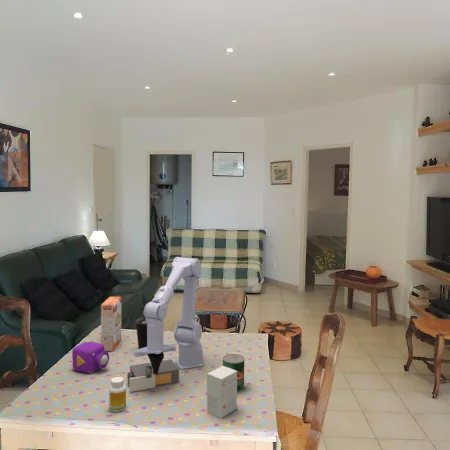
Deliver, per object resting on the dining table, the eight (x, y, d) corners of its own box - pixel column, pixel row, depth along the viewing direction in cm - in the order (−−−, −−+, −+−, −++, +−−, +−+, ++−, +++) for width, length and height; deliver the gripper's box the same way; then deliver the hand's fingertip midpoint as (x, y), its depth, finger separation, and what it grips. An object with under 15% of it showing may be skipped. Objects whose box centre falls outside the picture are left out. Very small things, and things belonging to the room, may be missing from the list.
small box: (222, 402, 147) (222, 365, 146) (237, 408, 143) (237, 370, 142) (206, 411, 141) (206, 373, 140) (221, 418, 137) (221, 379, 135)
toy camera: (101, 376, 165) (101, 351, 164) (69, 373, 168) (68, 347, 167) (114, 365, 176) (114, 341, 175) (83, 361, 178) (83, 338, 177)
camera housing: (171, 371, 170) (171, 359, 170) (179, 382, 161) (179, 369, 160) (125, 379, 163) (125, 366, 163) (131, 391, 154) (131, 377, 153)
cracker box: (114, 351, 189) (113, 304, 187) (100, 351, 189) (99, 304, 187) (122, 340, 203) (122, 296, 201) (109, 339, 203) (108, 296, 201)
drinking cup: (156, 350, 191) (156, 305, 189) (144, 356, 185) (144, 310, 183) (144, 346, 195) (143, 303, 193) (131, 352, 189) (131, 307, 187)
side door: (154, 386, 157) (154, 364, 156) (156, 389, 155) (156, 367, 154) (129, 391, 153) (129, 368, 153) (130, 394, 151) (130, 371, 150)
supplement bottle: (128, 409, 142) (128, 380, 141) (112, 414, 139) (111, 384, 138) (122, 402, 146) (122, 374, 145) (106, 406, 143) (106, 378, 142)
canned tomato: (240, 394, 153) (240, 364, 152) (219, 390, 155) (219, 360, 154) (246, 384, 160) (247, 355, 159) (226, 381, 163) (227, 352, 162)
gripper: (137, 342, 147) (137, 381, 149) (178, 336, 153) (178, 374, 154) (133, 335, 154) (133, 372, 155) (172, 330, 160) (172, 366, 161)
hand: (155, 372), depth 155 cm, fingers closed
